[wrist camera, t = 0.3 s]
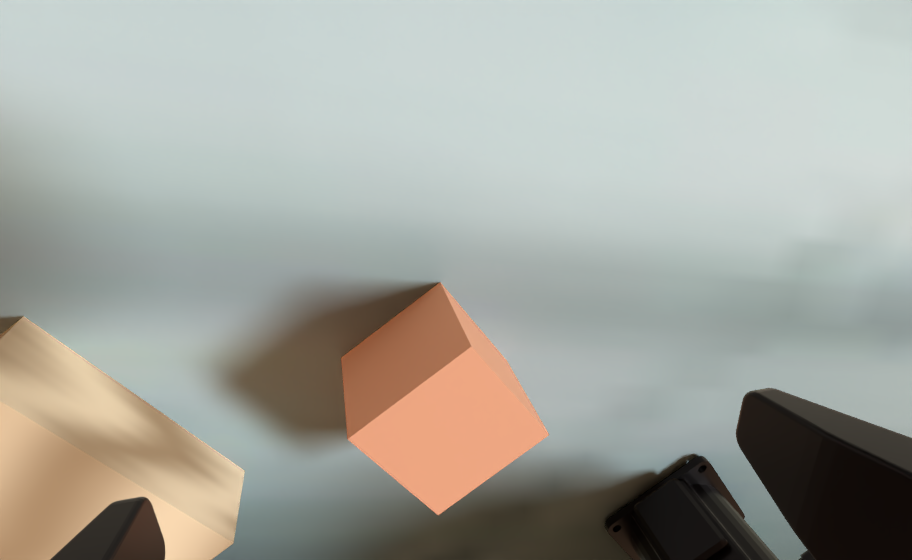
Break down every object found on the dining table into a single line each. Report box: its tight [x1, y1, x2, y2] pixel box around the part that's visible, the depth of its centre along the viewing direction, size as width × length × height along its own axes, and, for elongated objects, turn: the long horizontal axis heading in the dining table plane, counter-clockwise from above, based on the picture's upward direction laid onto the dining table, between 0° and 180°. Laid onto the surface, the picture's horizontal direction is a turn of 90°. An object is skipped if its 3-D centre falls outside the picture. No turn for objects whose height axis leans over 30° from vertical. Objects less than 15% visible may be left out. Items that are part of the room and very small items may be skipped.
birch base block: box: [0, 316, 245, 560], centre depth 20 cm, size 10×10×4 cm
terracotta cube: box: [341, 283, 549, 515], centre depth 21 cm, size 5×5×5 cm
